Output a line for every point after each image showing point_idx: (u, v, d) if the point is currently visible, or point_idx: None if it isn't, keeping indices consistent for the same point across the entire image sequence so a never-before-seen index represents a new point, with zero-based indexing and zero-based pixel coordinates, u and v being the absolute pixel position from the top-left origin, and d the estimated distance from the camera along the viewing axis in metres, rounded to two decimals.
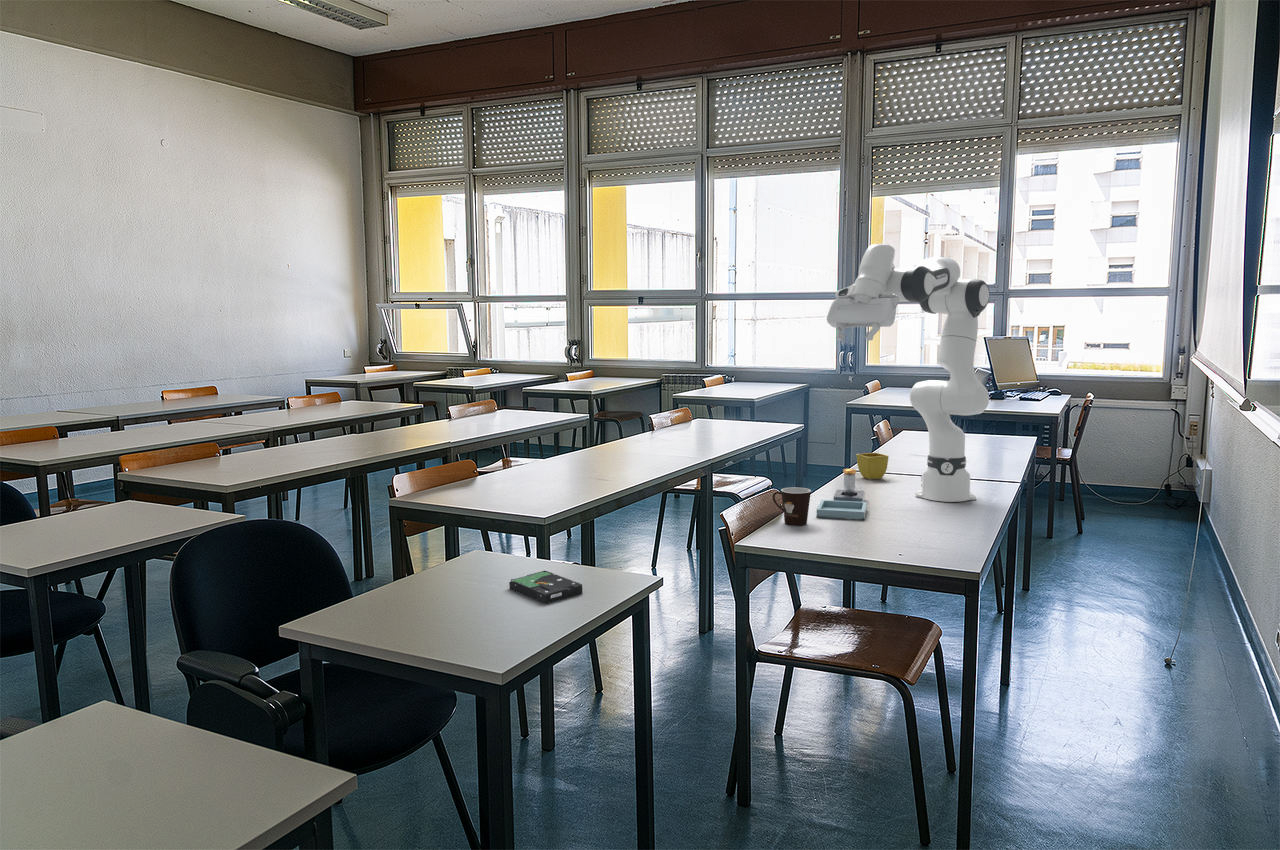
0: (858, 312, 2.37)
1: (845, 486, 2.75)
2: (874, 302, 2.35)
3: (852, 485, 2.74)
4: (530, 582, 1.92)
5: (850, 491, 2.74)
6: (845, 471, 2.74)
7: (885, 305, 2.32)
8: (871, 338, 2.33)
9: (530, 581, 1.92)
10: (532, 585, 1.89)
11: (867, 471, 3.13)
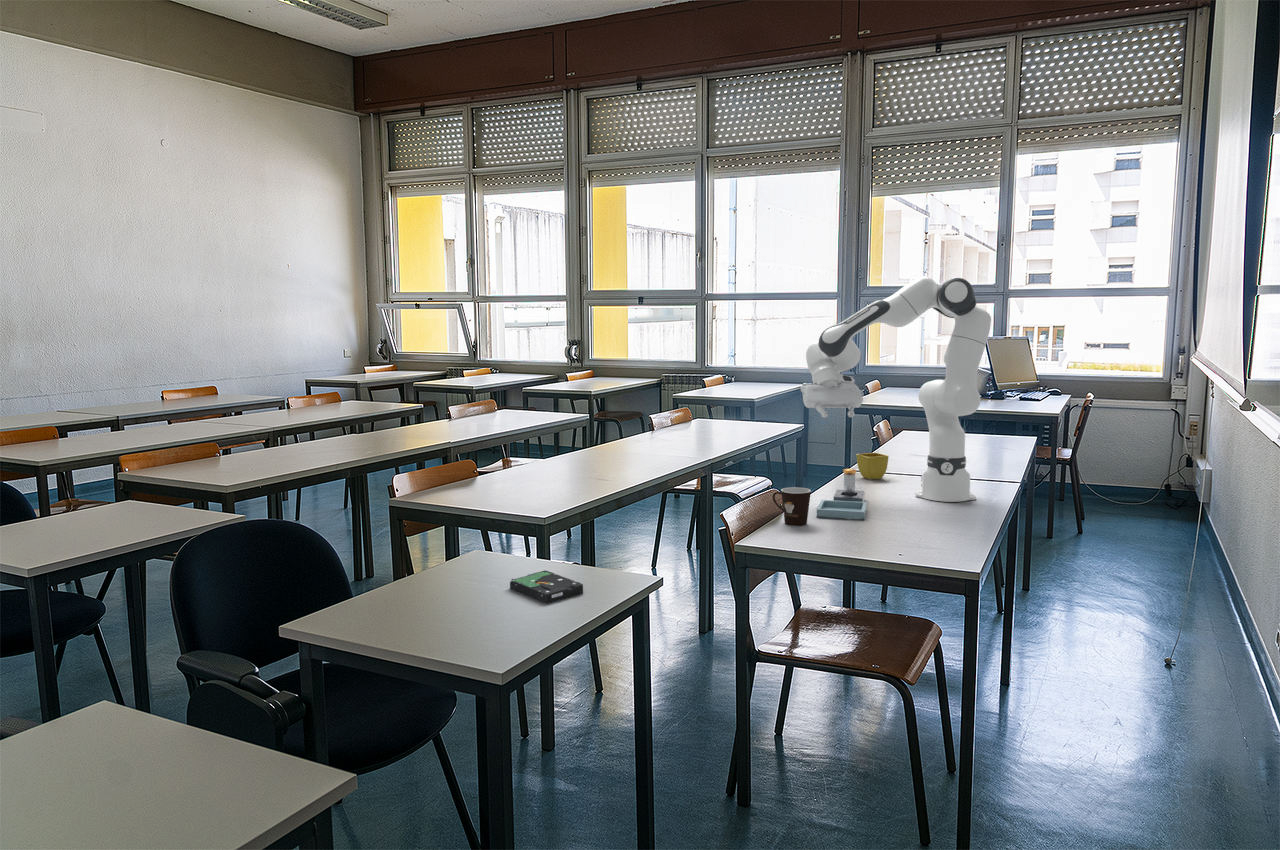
0: None
1: (845, 486, 2.75)
2: None
3: (852, 485, 2.74)
4: (531, 582, 1.92)
5: (850, 491, 2.74)
6: (845, 471, 2.74)
7: None
8: (823, 414, 2.78)
9: (530, 580, 1.92)
10: (533, 585, 1.89)
11: (867, 471, 3.13)
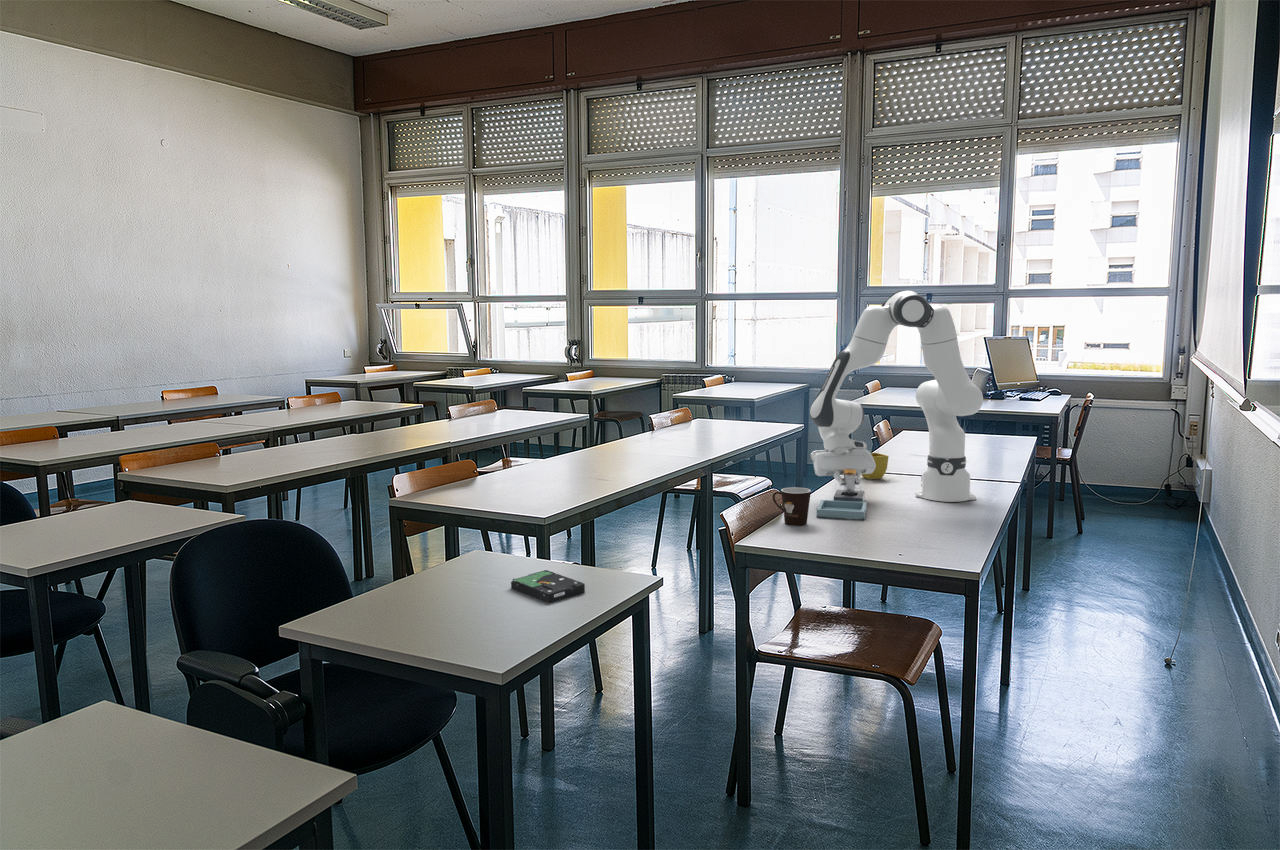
0: None
1: (845, 486, 2.74)
2: None
3: (852, 485, 2.74)
4: (532, 581, 1.92)
5: (850, 491, 2.74)
6: (845, 471, 2.74)
7: None
8: (840, 483, 2.74)
9: (532, 580, 1.93)
10: (534, 585, 1.90)
11: None
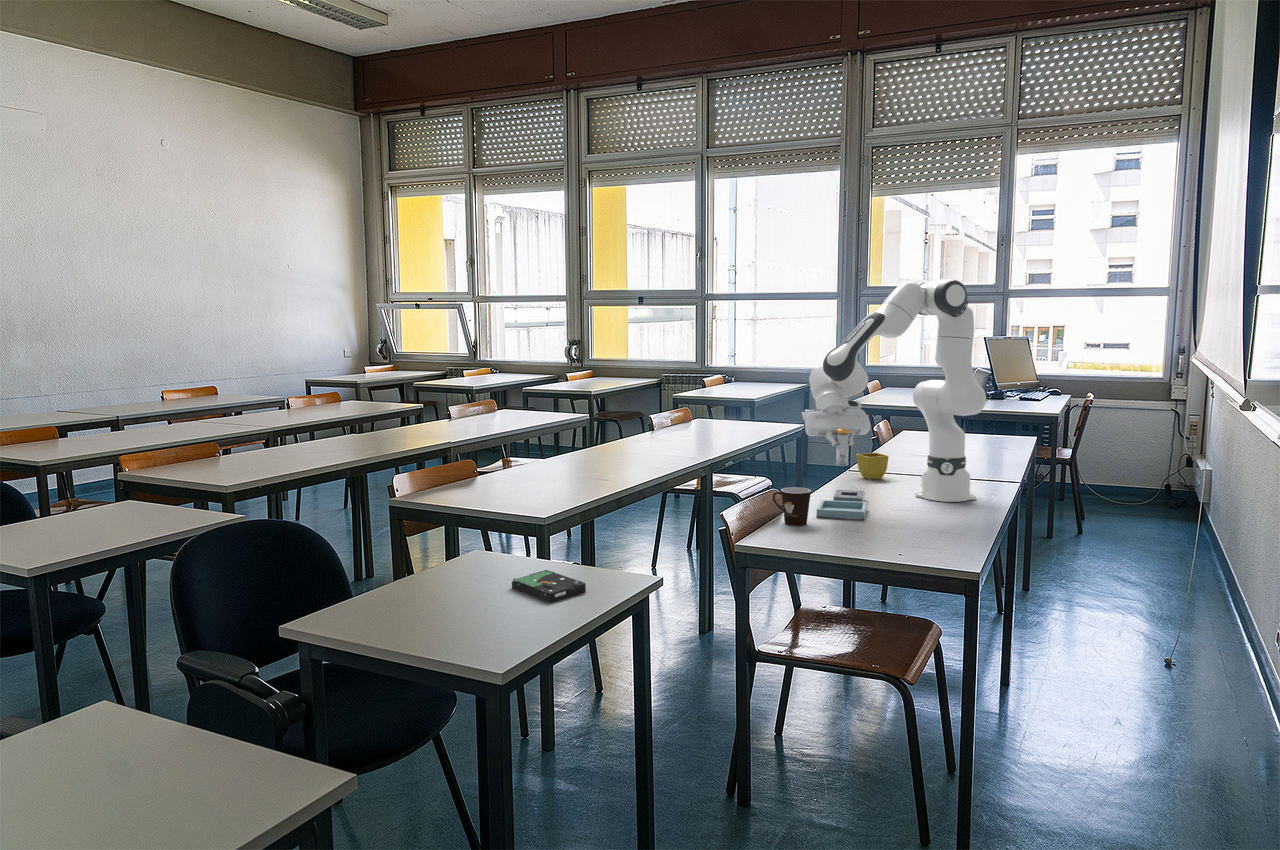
0: None
1: (838, 446, 2.58)
2: None
3: (845, 446, 2.57)
4: (533, 581, 1.92)
5: (843, 452, 2.58)
6: (838, 431, 2.57)
7: None
8: (833, 443, 2.58)
9: (532, 580, 1.93)
10: (535, 584, 1.90)
11: (867, 471, 3.13)
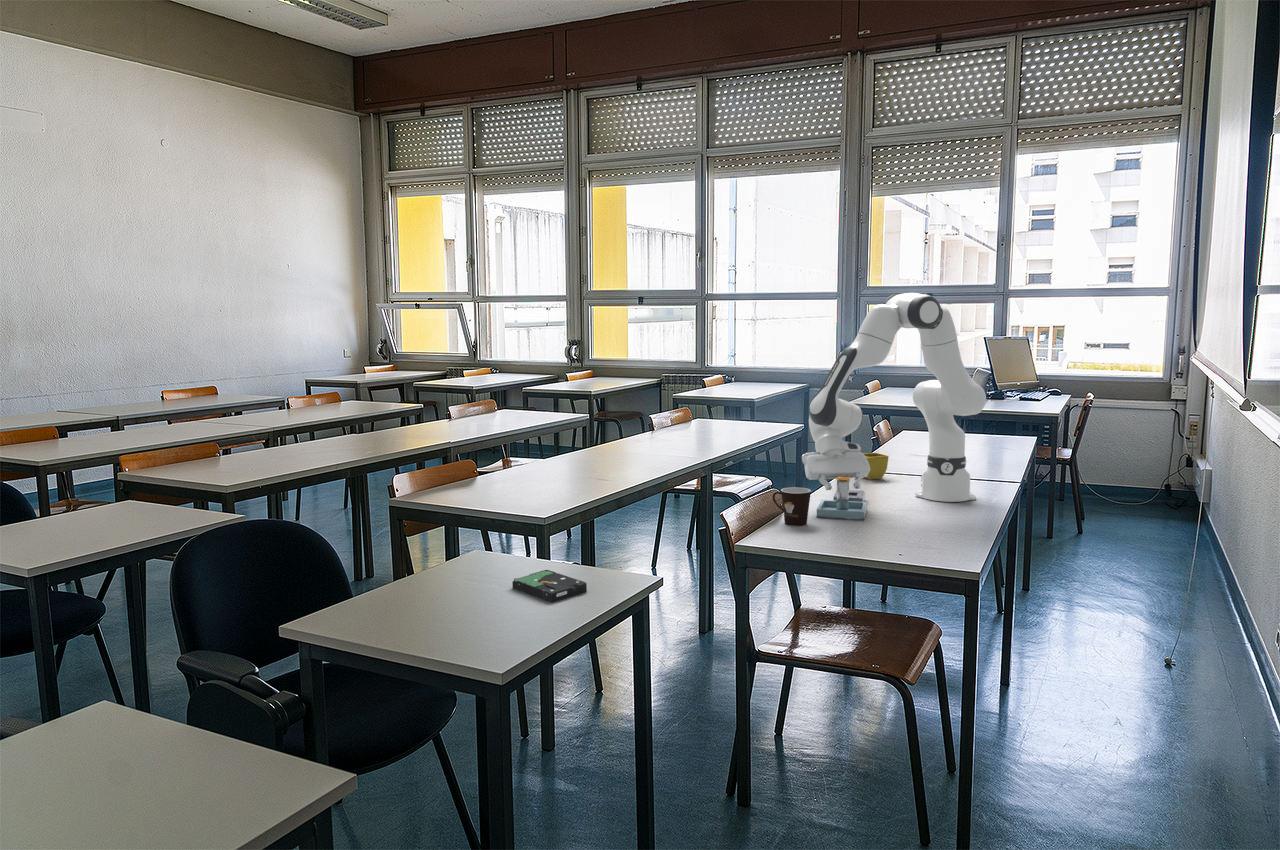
0: None
1: (838, 493, 2.60)
2: None
3: (845, 493, 2.59)
4: (534, 581, 1.92)
5: (843, 499, 2.59)
6: (838, 478, 2.59)
7: None
8: (826, 487, 2.59)
9: (533, 580, 1.93)
10: (536, 584, 1.90)
11: None
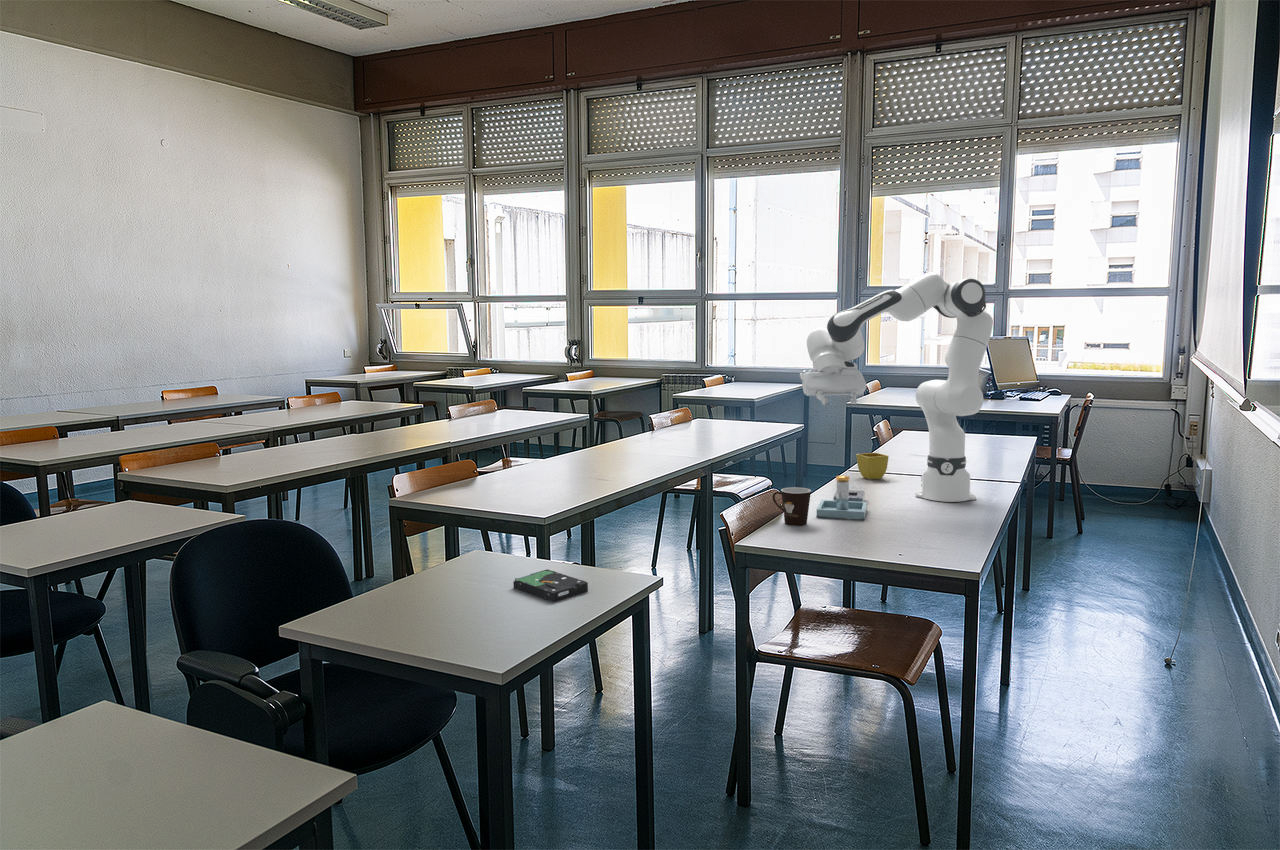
0: None
1: (838, 494, 2.60)
2: None
3: (845, 493, 2.59)
4: (535, 581, 1.92)
5: (843, 499, 2.59)
6: (838, 478, 2.59)
7: None
8: (823, 402, 2.65)
9: (534, 579, 1.93)
10: (538, 584, 1.90)
11: (867, 471, 3.13)
